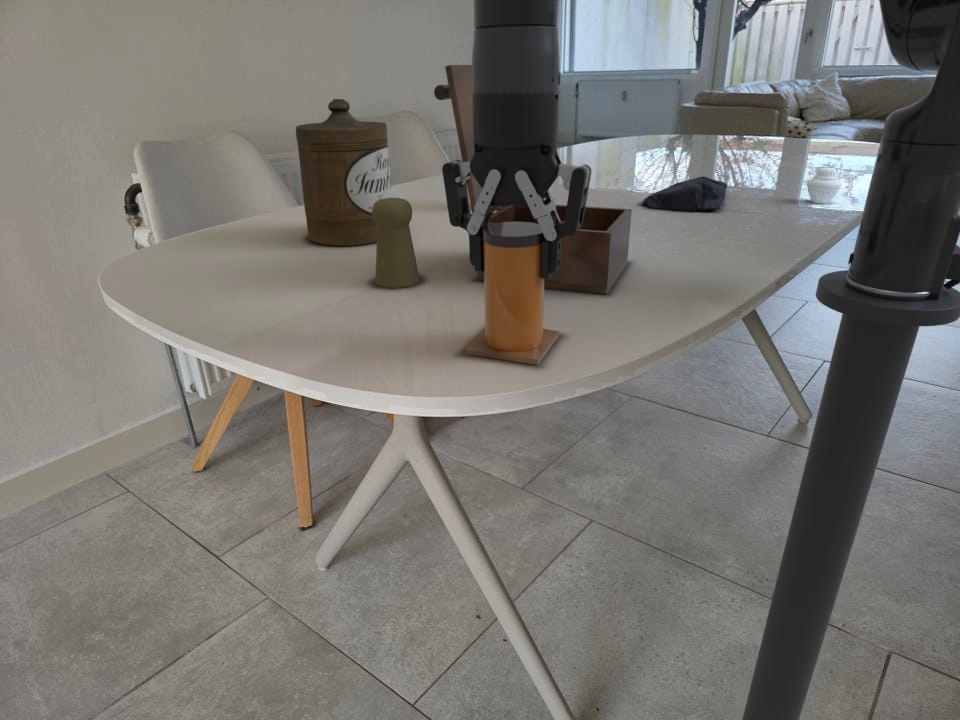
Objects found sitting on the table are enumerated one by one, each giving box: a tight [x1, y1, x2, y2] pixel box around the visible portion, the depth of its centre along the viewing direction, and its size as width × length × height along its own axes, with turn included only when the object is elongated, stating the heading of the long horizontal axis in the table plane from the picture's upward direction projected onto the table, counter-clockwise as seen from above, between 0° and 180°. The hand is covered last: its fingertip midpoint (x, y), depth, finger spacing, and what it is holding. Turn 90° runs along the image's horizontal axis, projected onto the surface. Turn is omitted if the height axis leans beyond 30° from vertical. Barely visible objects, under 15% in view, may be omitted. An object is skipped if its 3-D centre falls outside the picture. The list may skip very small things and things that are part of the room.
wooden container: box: [295, 98, 394, 247], centre depth 103 cm, size 15×15×22 cm
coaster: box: [465, 328, 560, 366], centre depth 64 cm, size 8×8×1 cm
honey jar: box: [482, 222, 546, 351], centre depth 61 cm, size 6×6×12 cm
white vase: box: [806, 166, 842, 205], centre depth 125 cm, size 6×6×7 cm
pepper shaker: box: [372, 197, 420, 289], centre depth 82 cm, size 6×6×11 cm
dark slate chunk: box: [642, 175, 728, 212], centre depth 129 cm, size 15×22×5 cm
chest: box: [476, 204, 633, 295], centre depth 85 cm, size 18×15×8 cm
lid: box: [433, 64, 501, 214], centre depth 84 cm, size 18×15×5 cm
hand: (514, 272), depth 61 cm, fingers closed on honey jar, 6 cm apart
